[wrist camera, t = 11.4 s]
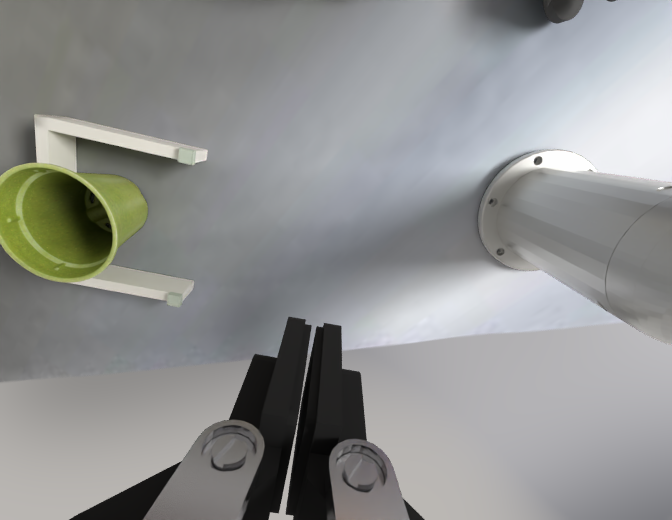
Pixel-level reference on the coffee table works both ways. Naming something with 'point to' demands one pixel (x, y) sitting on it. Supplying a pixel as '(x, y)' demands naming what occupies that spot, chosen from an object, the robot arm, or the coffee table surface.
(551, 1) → the character figurine
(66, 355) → the coffee table surface
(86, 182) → the plant pot
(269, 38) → the coffee table surface
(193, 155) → the corral
